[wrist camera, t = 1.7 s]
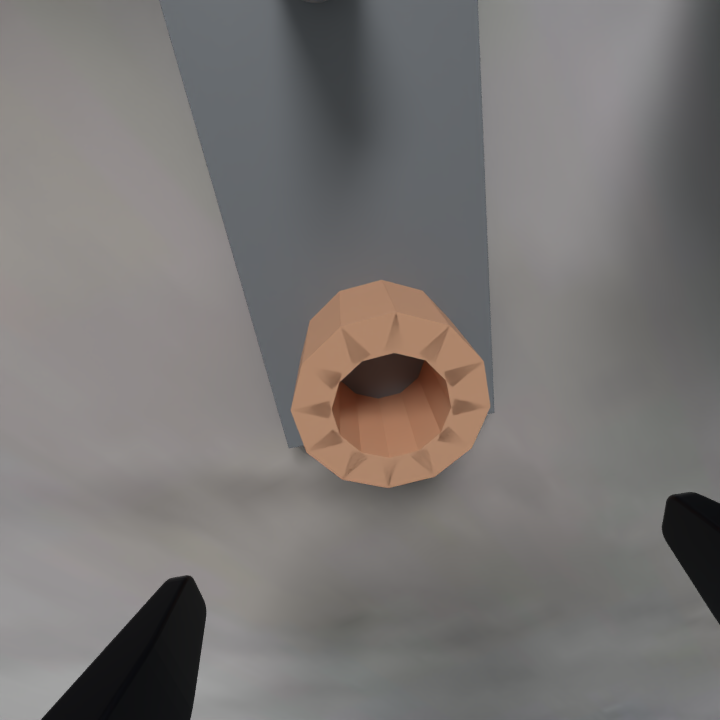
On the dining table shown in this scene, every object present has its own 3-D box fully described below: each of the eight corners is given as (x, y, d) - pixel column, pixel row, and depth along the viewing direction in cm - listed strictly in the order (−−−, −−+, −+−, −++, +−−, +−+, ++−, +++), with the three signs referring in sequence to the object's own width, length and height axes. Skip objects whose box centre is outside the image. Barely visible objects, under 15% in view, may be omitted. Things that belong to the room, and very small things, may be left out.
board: (483, 395, 19) (549, 493, 13) (292, 429, 19) (273, 540, 13) (454, -147, 12) (573, -473, 6) (148, -86, 12) (-35, -345, 6)
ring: (476, 304, 16) (519, 342, 12) (425, 434, 18) (448, 499, 14) (323, 264, 15) (319, 292, 11) (289, 405, 17) (276, 467, 13)
